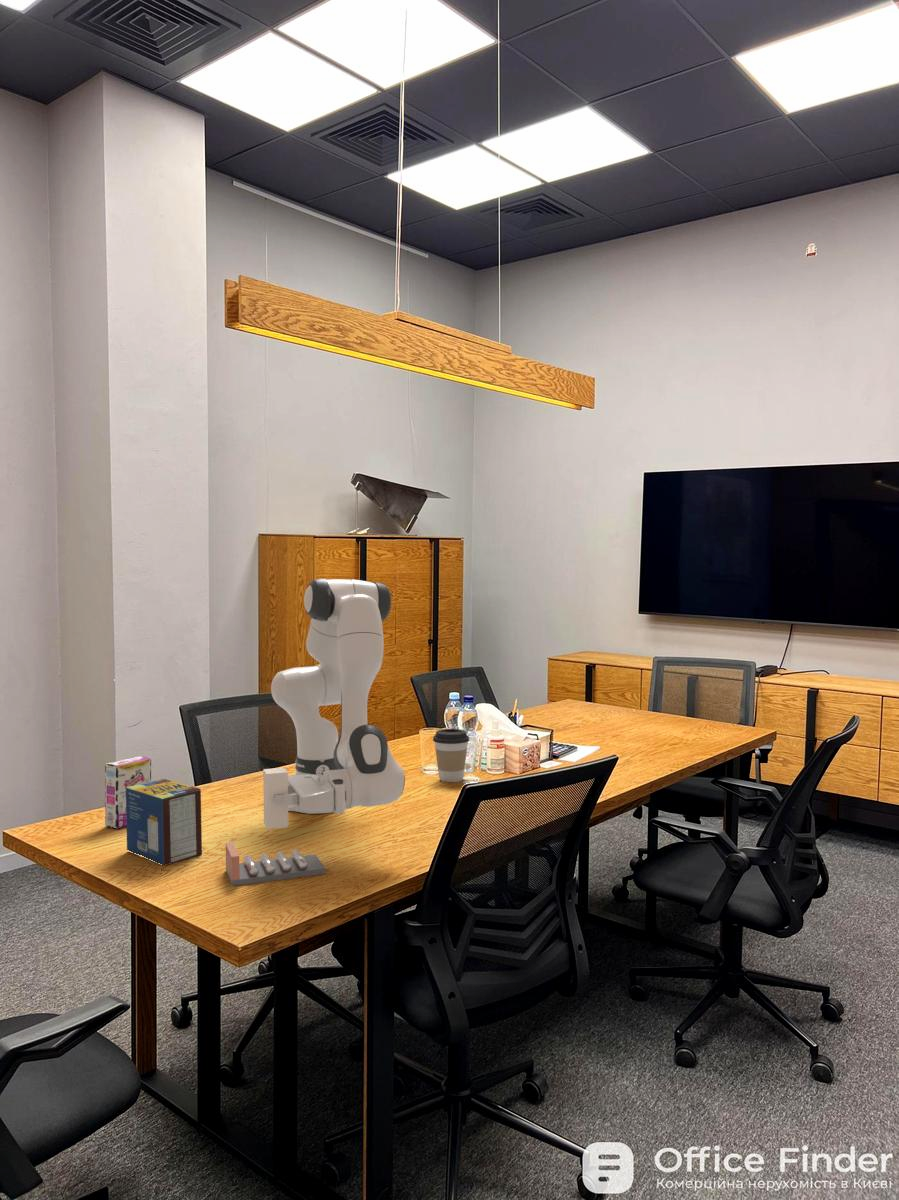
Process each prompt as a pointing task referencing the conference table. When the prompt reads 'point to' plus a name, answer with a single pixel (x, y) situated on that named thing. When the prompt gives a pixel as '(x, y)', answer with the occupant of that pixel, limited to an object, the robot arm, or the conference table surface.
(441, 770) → the coffee cup
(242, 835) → the conference table surface
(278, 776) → the wooden block
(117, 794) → the candy bar box
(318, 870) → the roller track
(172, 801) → the protein box
